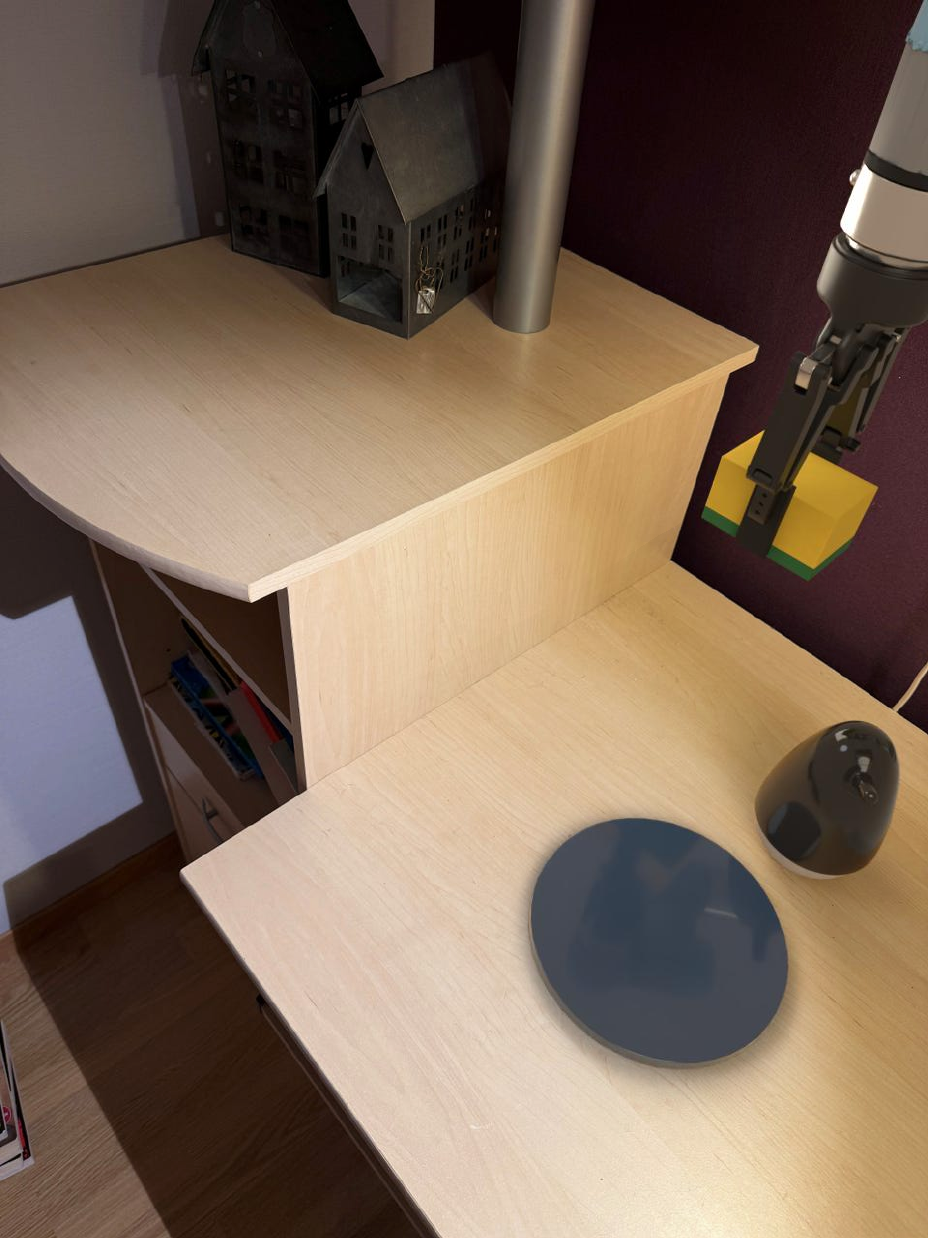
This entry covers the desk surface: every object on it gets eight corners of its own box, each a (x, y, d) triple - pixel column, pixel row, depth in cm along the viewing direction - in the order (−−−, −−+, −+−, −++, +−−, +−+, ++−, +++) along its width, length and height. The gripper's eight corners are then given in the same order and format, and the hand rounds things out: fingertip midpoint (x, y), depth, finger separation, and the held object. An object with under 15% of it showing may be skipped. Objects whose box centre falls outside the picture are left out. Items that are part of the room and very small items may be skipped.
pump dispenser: (740, 882, 75) (804, 773, 65) (742, 783, 83) (800, 670, 72) (865, 915, 74) (951, 809, 64) (855, 811, 81) (932, 701, 71)
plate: (752, 832, 79) (756, 825, 78) (812, 1076, 64) (818, 1070, 64) (524, 818, 78) (526, 810, 77) (533, 1062, 63) (536, 1056, 63)
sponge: (848, 547, 73) (878, 486, 69) (807, 581, 69) (837, 519, 65) (743, 488, 78) (766, 428, 74) (700, 517, 74) (721, 455, 70)
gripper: (908, 196, 64) (795, 466, 80) (764, 258, 54) (666, 554, 70) (1011, 233, 61) (871, 507, 77) (879, 306, 50) (749, 607, 66)
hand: (774, 529), depth 73 cm, fingers closed on sponge, 6 cm apart
